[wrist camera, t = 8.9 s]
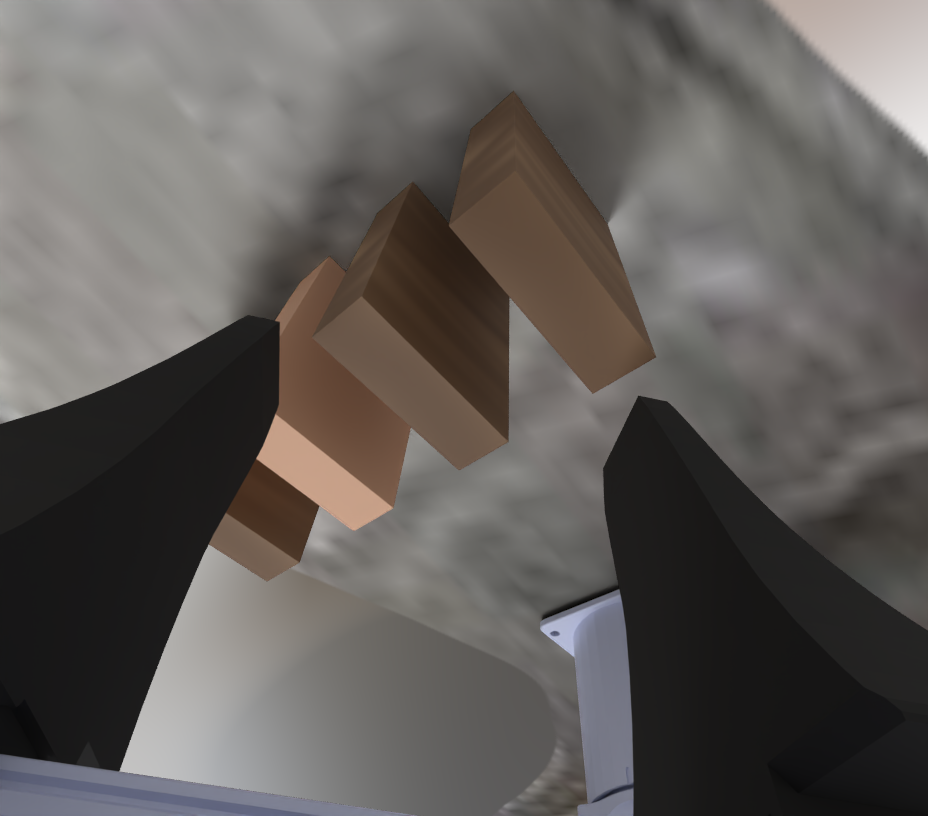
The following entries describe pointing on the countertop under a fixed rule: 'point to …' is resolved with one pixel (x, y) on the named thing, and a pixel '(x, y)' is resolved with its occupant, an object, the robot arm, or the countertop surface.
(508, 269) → the domino
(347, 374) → the domino
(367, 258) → the domino
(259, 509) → the domino
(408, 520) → the countertop surface
